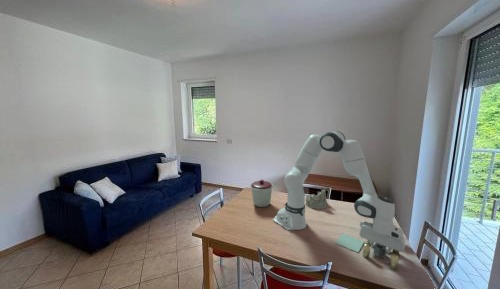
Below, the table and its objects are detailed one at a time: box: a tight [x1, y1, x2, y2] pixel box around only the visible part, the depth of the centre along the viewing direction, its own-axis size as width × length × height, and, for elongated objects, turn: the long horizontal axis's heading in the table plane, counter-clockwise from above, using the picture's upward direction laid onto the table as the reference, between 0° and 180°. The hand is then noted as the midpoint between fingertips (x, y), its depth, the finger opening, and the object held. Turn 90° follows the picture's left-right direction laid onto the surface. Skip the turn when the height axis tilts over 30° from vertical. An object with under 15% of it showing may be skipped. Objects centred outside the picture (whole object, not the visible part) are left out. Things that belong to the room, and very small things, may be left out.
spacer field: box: [362, 240, 400, 272], centre depth 110 cm, size 16×16×7 cm
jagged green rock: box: [304, 189, 328, 210], centre depth 168 cm, size 16×16×15 cm
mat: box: [335, 233, 365, 254], centre depth 121 cm, size 12×12×1 cm
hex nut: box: [373, 242, 387, 258], centre depth 110 cm, size 6×5×5 cm
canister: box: [250, 179, 274, 208], centre depth 169 cm, size 18×18×21 cm
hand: (379, 250), depth 110 cm, fingers closed on hex nut, 5 cm apart
